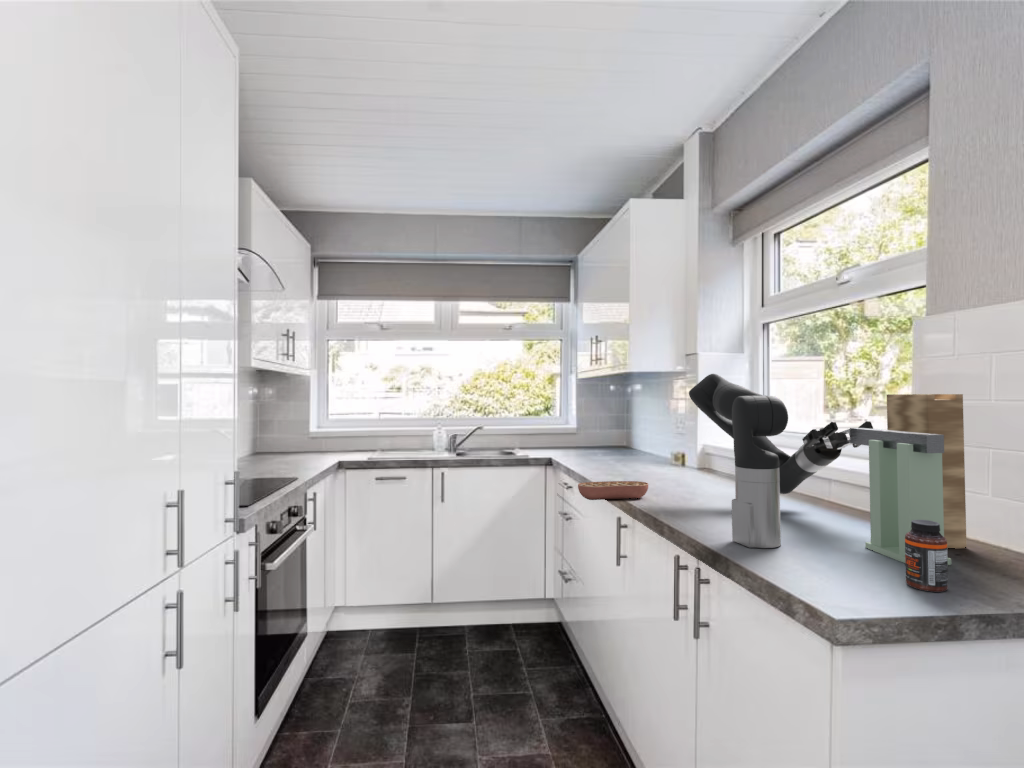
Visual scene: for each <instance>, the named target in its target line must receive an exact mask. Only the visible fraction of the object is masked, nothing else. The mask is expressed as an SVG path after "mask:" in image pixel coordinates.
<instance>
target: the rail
mask: <svg viewBox="0 0 1024 768" xmlns="http://www.w3.org/2000/svg"><path fill="white" fill-rule="evenodd" d="M849 429H850V436H849V439H850V443H852V444H860V446H868V447H869V440H879V441H883V448H890V449H897V443H905V444H913V452H921V453H944V435H940V434H928V433H917V432H905V431H894V430H887V429H883V428H882V429H880V428H873V429H871V428H858V427H850V428H849Z"/></svg>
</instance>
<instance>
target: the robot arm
mask: <svg viewBox="0 0 1024 768" xmlns="http://www.w3.org/2000/svg"><path fill="white" fill-rule="evenodd" d="M688 396H689V398H690V399H691V401H692V402H693V403H694V405H695V406H696V407H697V408H698V409H699V410H700V411H701V412H702V413H703V414H705V415H706V416H707V418H708V419H710V420H711V421H712V422H713V423H714V424H716V425H717V426H718V428H720V429H721V430H722V431H724V432H725V433H726V434H727V435H728V436H730V437H731V438H732V439H733V455H734V471H735V472H734V478H735V480H734V481H735V482H734V485H735V486H734V489H735V498H732V499H731V534H732V536H731V537H732V540H731V541H732V542H734V543H738V544H740V545H742V546H745V547H747V548H759V549H774V548H777V547H778V548H779V547H780V546H781V545H782V538H781V537H782V536H781V535H782V533H781V532H782V531H781V529H782V528H781V494H782V495H787V494H790V493H791V492H793V491H794V490H795V489H797V488H798V487H799V485H801V484H802V483H803V482H804V481H805V480H807V479H808V478H810V477H812V476H814V475H815V474H816V473H817V472H819V471H821V470H822V469H824V468H826V467H827V466H828V465H830V464H831V463H833V462H834V461H835V460H837V459H838V458H839V457H840V456H841V453H842V450H843V449H845V448H846V447H848V446H851V445H852V448H859V447H861V445H860V444H852V443H850V438H849V439H848V437H847V436H849V437H850V428H847V429H845V430H842V431H840V432H839V431H838V430H839V427H838V424H837V422H836V421H831V422H829V423H828V424H827V425H825V426H824V427H821V428H820V427H819V430H817V428H813V429H811V430H810V431H809V432H807V434H806V435H805V436H804V437H802V441H803V444H802V445H801V446H800V447H799V448H798V449H797V451H795V452H794V453H793V454H792V455H789V454H788V453H785V452H784V451H782V450H781V449H780V448H778V447H777V446H776V445H775V444H774V443H773V442H772V441H771V439H769V438H768V437H774V436H778V435H780V434H782V433H783V432H784V430H786V427H787V426H788V423H789V414H788V409H787V407H786V405H785V403H784V402H783V401H782V400H781V399H780V398H779V397H777V396H776V395H765V394H764V395H763V394H760V393H758V392H756V391H754V390H750V389H748V388H746V387H743V386H741V385H739V384H736V383H732V382H730V381H728V380H727V379H725V378H724V377H722V376H721V375H719V374H716V373H710V374H708V375H706V376H705V377H704V378H703V379H702V380H700V381H699V382H698V383H697V384H695V385H694V386H693V387H692V388H691V389H690V390H689V391H688ZM857 428H871V429H874V426H873V424H872V422H871V421H870V420H866V421H864V422H863V423H862V424H861V425H859V426H858V427H857ZM837 431H838V432H837ZM847 434H848V435H847Z"/></svg>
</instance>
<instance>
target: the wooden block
mask: <svg viewBox="0 0 1024 768" xmlns="http://www.w3.org/2000/svg"><path fill="white" fill-rule="evenodd" d="M886 419H887V421H886V423H887V424H886V425H887V428H886V430H894V431H905V432H917V433H928V434H940V435H944V453H942V472H943V514H944V537H945V538H946V540H947V550H949V549H948V548H955V549H966V548H965V547H967V546H968V545H967V515H966V513H967V512H966V511H967V510H966V509H967V507H966V506H967V505H966V473H965V470H966V469H965V426H964V394H963V393H961V394H960V393H927V394H926V393H924V394H923V393H915V394H912V393H911V394H909V393H908V394H900V393H899V394H893V393H892V394H886Z"/></svg>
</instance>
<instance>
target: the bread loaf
mask: <svg viewBox="0 0 1024 768" xmlns="http://www.w3.org/2000/svg"><path fill="white" fill-rule="evenodd" d="M648 489H649V483H648V482H645V481H638V480H637V481H635V480H632V481H631V480H627V481H625V480H621V481H619V480H612V481H611V480H609V481H608V480H607V481H587V482H579V483H578V484H577V490H578V492H579V494H580V495H581V496H582V497H583V498H584V499H587V500H590V501H599V500H637V498H638V499H641V498H643V497H644V496H645V495H646V494H647V492H648ZM629 498H631V499H629ZM635 498H636V499H635Z"/></svg>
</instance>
